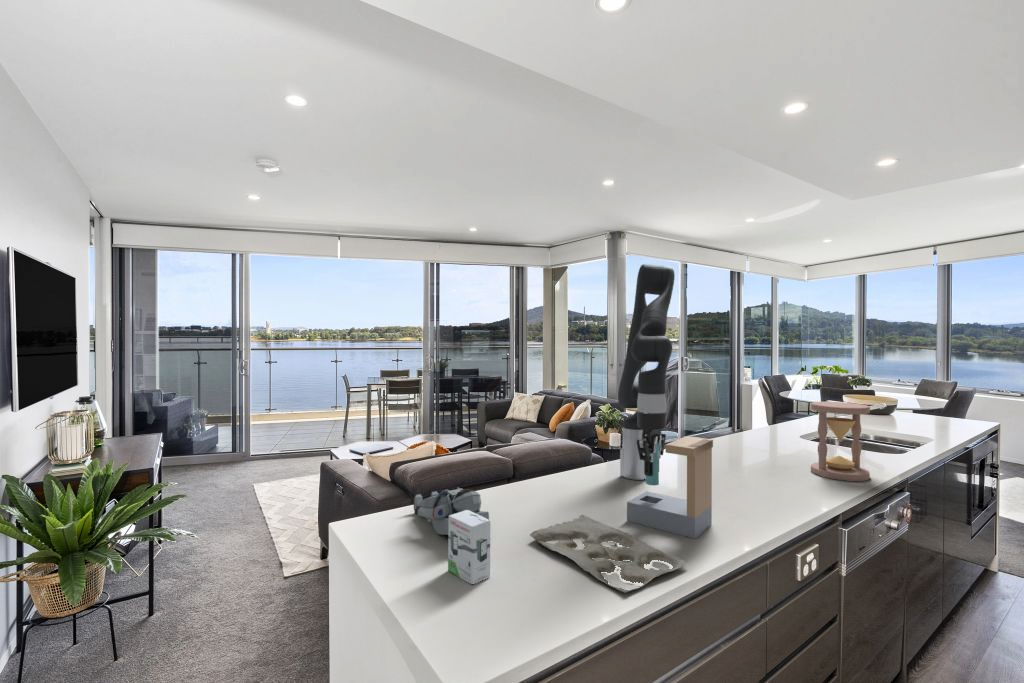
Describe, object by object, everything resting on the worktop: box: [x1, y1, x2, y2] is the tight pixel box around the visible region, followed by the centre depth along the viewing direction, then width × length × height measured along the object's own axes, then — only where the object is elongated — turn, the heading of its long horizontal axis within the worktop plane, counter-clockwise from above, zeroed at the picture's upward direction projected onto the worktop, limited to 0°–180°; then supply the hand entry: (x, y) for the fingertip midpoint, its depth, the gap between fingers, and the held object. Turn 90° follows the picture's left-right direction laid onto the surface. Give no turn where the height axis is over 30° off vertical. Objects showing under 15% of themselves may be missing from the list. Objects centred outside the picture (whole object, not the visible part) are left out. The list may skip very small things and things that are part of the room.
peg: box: [645, 443, 660, 486], centre depth 132 cm, size 3×3×11 cm
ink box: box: [447, 510, 491, 585], centre depth 100 cm, size 9×5×12 cm, turn 43°
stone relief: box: [529, 514, 687, 593], centre depth 110 cm, size 32×3×20 cm
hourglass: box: [810, 401, 871, 482], centre depth 174 cm, size 18×18×25 cm
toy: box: [413, 486, 490, 536], centre depth 125 cm, size 17×11×30 cm
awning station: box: [626, 435, 714, 539], centre depth 129 cm, size 18×14×22 cm
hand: (651, 473), depth 132 cm, fingers closed on peg, 3 cm apart
